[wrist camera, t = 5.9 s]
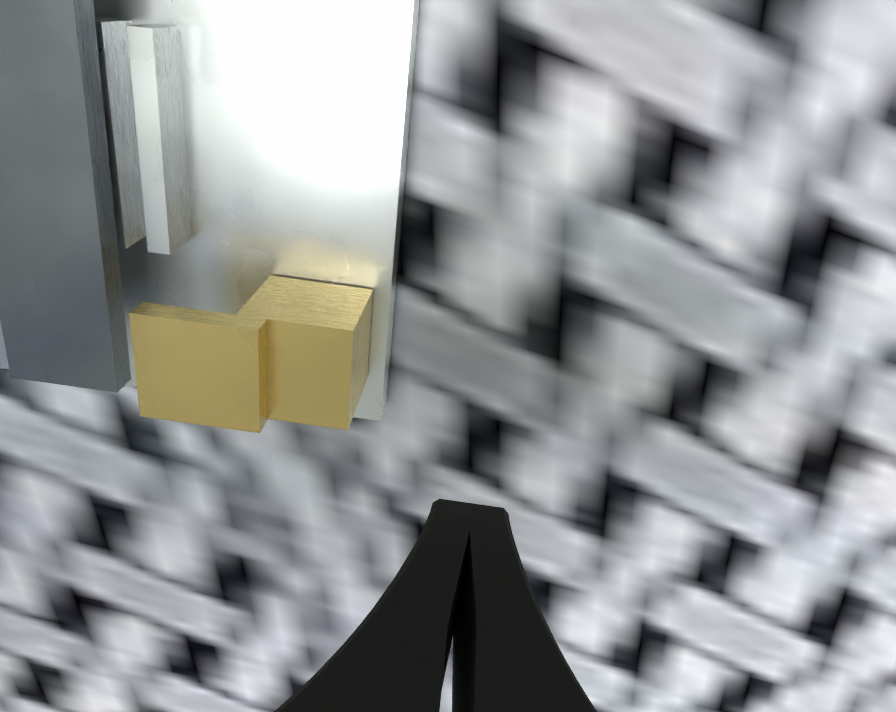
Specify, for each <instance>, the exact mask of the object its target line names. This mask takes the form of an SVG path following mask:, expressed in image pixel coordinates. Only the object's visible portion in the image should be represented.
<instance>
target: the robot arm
mask: <svg viewBox="0 0 896 712" xmlns="http://www.w3.org/2000/svg"><path fill="white" fill-rule="evenodd" d="M452 637H453V678H452V712H597V711H596V709H595V708H594V706H593V705H592V703H591V702H590V700H589V698H588V697H587V695H586V694H585V692H584V690H583V689H582V687H581V686H580V684H579V682H578V681H577V679H576V677H575V676H574V674H573V672H572V670H571V669H570V667H569V665H568V664H567V662H566V660H565V658H564V656H563V654H562V653H561V651H560V649H559V647H558V645H557V643H556V641H555V639H554V637H553V635H552V633H551V631H550V629H549V627H548V625H547V623H546V621H545V619H544V617H543V614H542V612H541V610H540V608H539V605H538V603H537V601H536V598H535V596H534V593H533V591H532V589H531V586H530V584H529V581H528V579H527V576H526V574H525V571H524V568H523V566H522V563H521V560H520V557H519V554H518V551H517V548H516V544H515V541H514V538H513V534H512V530H511V526H510V521H509V515H508V513H507V512H506V510H505V509H504V508H500V507H493V506H486V505H479V504H472V503H465V502H458V501H451V500H444V499H438V500H437V501H435V502H433V504H432V507H431V511H430V514H429V516H428V519H427V521H426V523H425V526H424V528H423V530H422V532H421V534H420V536H419V538H418V540H417V541H416V543H415V545H414V547H413V549H412V550H411V552H410V554H409V555H408V557H407V559H406V560H405V562H404V564H403V565H402V567H401V569H400V570H399V572H398V573H397V575H396V577H395V578H394V580H393V581H392V582H391V584H390V585H389V587H388V588H387V589H386V591H385V592H384V594H383V595H382V596H381V598H380V599H379V601H378V602H377V603H376V605H375V606H374V608H373V609H372V610H371V611H370V613H369V614H368V615H367V617H366V618H365V619H364V620H363V622H362V623H361V624H360V625H359V626H358V628H357V629H356V630H355V631H354V632H353V634H352V635H351V636H350V637H349V638H348V639H347V641H346V642H345V643H344V644H343V645H342V646H341V647H340V649H339V650H338V651H337V652H336V653H335V654H334V655H333V656H332V657H331V658H330V659H329V660H328V661H327V662H326V663H325V664H324V665H323V667H322V668H321V669H320V670H319V671H318V672H317V673H316V674H315V675H314V676H313V677H312V678H311V679H310V680H309V681H308V682H307V683H306V684H305V685H303V686H302V687H301V688H300V689H299V690H298V691H297V692H296V693H295V694H294V695H292V696H291V697H290V698H289V699H288V700H287V701H286V702H285V703H283V704H282V705H281V706H280V707H279V708H278V709H277V710H276V711H275V712H439V709H440V699H441V690H442V686H443V681H444V676H445V671H446V666H447V661H448V657H449V652H450V647H451V642H452Z"/></svg>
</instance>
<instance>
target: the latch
mask: <svg viewBox="0 0 896 712" xmlns="http://www.w3.org/2000/svg"><path fill="white" fill-rule="evenodd" d="M372 298H373V289H366V288H359V287H352V286H344V285H337V284H330V283H322V282H315V281H307V280H300V279H293V278H285V277H278V276H271V275H270V276H269V277H268V278H267V279H266V281H265V282H264V283H263V284H262V285H261V286H260V287H259V289H258V290H257V291H256V292H255V293H254V294H253V295H252V297H251V298H250V299H249V300H248V301H247V302H246V303H245V305H244V306H243V307H242V308H241V309H240V310H239V311H238V313H237V314H236V315H235V314H228V313H221V312H213V311H206V310H199V309H191V308H184V307H177V306H170V305H162V304H155V303H148V302H141V303H140V304H139V305H138V306H137V307H135V308H134V309H133V310H132V311H130V312H129V319H130V328H131V337H132V346H133V355H134V364H135V373H136V382H137V391H138V400H139V409H140V416H143V417H150V418H157V419H164V420H171V421H178V422H185V423H192V424H200V425H207V426H214V427H221V428H228V429H235V430H242V431H249V432H256V433H260V432H261V430H262V428H263V427H264V425H265V423H266V421H267V420H268V419H274V420H281V421H288V422H295V423H302V424H309V425H316V426H323V427H331V428H338V429H345V430H348V429H349V426H350V423H351V421H352V418H353V415H354V413H355V410H356V408H357V405H358V402H359V400H360V397H361V394H362V392H363V389H364V387H365V384H366V381H367V373H368V358H369V343H370V328H371V313H372Z"/></svg>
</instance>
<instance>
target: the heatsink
mask: <svg viewBox="0 0 896 712" xmlns="http://www.w3.org/2000/svg"><path fill="white" fill-rule="evenodd" d="M419 3H420V0H93V5H94V15H95V25H96V35H97V45H98V55H99V65H100V74H101V84H102V94H103V104H104V114H105V124H106V134H107V144H108V153H109V163H110V173H111V183H112V193H113V203H114V213H115V223H116V233H117V242H118V252H119V262H120V272H121V282H122V292H123V302H124V312H125V322H126V331H127V341H128V351H129V361H130V371H131V380H130V381H129V382H127V383H126V384H125V385H126V386H133V387H137V382H136V373H135V364H134V355H133V346H132V337H131V328H130V319H129V312H130V311H132V310H133V309H134V308H135V307H137V306H138V305H139V304H140V303H141V302H148V303H155V304H162V305H170V306H177V307H184V308H191V309H199V310H206V311H213V312H221V313H228V314H235V315H236V314H237V313H238V311H239V310H240V309H241V308H242V307H243V306H244V305H245V303H246V302H247V301H248V300H249V299H250V298H251V297H252V295H253V294H254V293H255V292H256V291H257V290H258V289H259V287H260V286H261V285H262V284H263V283H264V282H265V281H266V279H267V278H268V277H269V276H270V275H271V276H278V277H285V278H293V279H300V280H307V281H315V282H322V283H330V284H337V285H344V286H352V287H359V288H366V289H373V298H372V313H371V328H370V343H369V358H368V373H367V381H366V384H365V387H364V389H363V392H362V394H361V397H360V400H359V402H358V405H357V408H356V410H355V413H354V415H353V417H354V418H361V419H369V420H376V421H381V418H382V415H383V412H384V408H385V405H386V402H387V390H388V378H389V366H390V354H391V342H392V330H393V318H394V306H395V293H396V281H397V269H398V257H399V245H400V233H401V221H402V209H403V197H404V185H405V173H406V160H407V148H408V136H409V124H410V112H411V100H412V88H413V76H414V64H415V52H416V40H417V27H418V15H419ZM0 368H4V369H9V365H8V359H7V354H6V349H5V343H4V338H3V333H2V327H1V322H0Z"/></svg>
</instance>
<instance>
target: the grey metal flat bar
mask: <svg viewBox="0 0 896 712" xmlns="http://www.w3.org/2000/svg"><path fill="white" fill-rule="evenodd" d="M0 322H1V327H2V333H3V338H4V343H5V349H6V354H7V359H8V365H9V370H10V375H11V378H18V379H25V380H33V381H40V382H47V383H54V384H61V385H68V386H75V387H83V388H90V389H97V390H104V391H111V392H118V391H119V390H120V389H121V388H122V387H123V386H124V385H125V384H126V383H127V382H129V381H130V380H131V371H130V361H129V351H128V341H127V331H126V322H125V312H124V302H123V292H122V282H121V272H120V262H119V252H118V242H117V233H116V223H115V213H114V203H113V193H112V183H111V173H110V163H109V153H108V144H107V134H106V124H105V114H104V104H103V94H102V84H101V74H100V65H99V55H98V45H97V35H96V25H95V15H94V5H93V0H0Z"/></svg>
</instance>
